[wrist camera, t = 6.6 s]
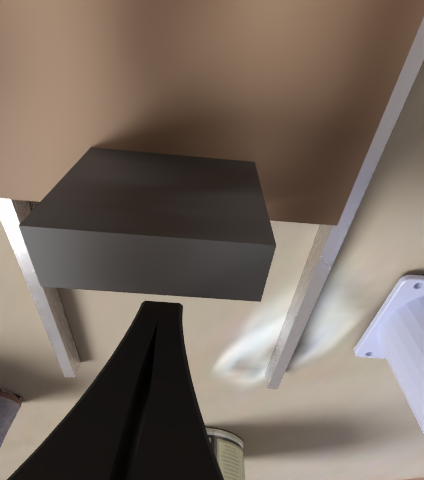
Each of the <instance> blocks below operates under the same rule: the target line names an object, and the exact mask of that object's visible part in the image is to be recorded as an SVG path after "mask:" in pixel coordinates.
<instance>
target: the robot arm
mask: <svg viewBox="0 0 424 480" xmlns="http://www.w3.org/2000/svg"><path fill="white" fill-rule="evenodd" d="M182 312H183V306H182V305H181V304H180V303H168V302H154V301H144V302H143V303H142V304H141V306H140V309H139V311H138V313H137V315H136V317H135V318H134V320H133V322H132V324H131V326H130V327H129V329H128V331H127V332H126V334H125V336H124V337H123V339H122V340H121V342H120V344H119V345H118V347H117V348H116V350H115V351H114V353H113V354H112V356H111V357H110V359H109V360H108V362H107V363H106V365H105V366H104V367H103V369H102V370H101V372H100V373H99V374H98V376H97V377H96V379H95V380H94V381H93V383H92V384H91V385H90V387H89V388H88V389H87V391H86V392H85V393H84V394H83V396H82V397H81V398H80V399H79V401H78V402H77V403H76V404H75V406H74V407H73V408H72V409H71V410H70V412H69V413H68V414H67V415H66V416H65V418H64V419H63V420H62V421H61V422H60V423H59V425H58V426H57V427H56V428H55V429H54V430H53V431H52V433H51V434H50V435H49V436H48V437H47V438H46V439H45V440H44V442H43V443H42V444H41V445H40V446H39V447H38V448H37V449H36V450H35V451H34V452H33V453H32V454H31V456H30V457H29V458H28V459H27V460H26V461H25V462H24V463H23V464H22V465H21V466H20V467H19V468H18V469H17V470H16V471H15V472H14V473H13V474H12V475H11V476H10V477H9V478H8V479H7V480H224V478H223V475H222V472H221V470H220V467H219V464H218V462H217V459H216V456H215V454H214V451H213V448H212V446H211V443H210V440H209V437H208V434H207V431H206V428H205V425H204V422H203V418H202V415H201V412H200V409H199V405H198V402H197V398H196V394H195V391H194V387H193V383H192V379H191V375H190V370H189V366H188V360H187V355H186V350H185V344H184V336H183V326H182ZM354 353H355V355H356V356H358V357H367V358H383V359H387V361H388V363H389V365H390V367H391V369H392V371H393V373H394V375H395V377H396V379H397V381H398V383H399V385H400V387H401V389H402V391H403V393H404V395H405V397H406V399H407V401H408V403H409V405H410V407H411V409H412V411H413V414H414V416H415V418H416V420H417V422H418V424H419V426H420V428H421V430H422V432H423V434H424V276H421V275H406V276H403V277H401V278H400V279H399V281H398V282H397V284H396V285H395V287H394V288H393V290H392V291H391V293H390V294H389V296H388V297H387V299H386V301H385V302H384V304H383V305H382V307H381V308H380V310H379V311H378V313H377V314H376V316H375V317H374V319H373V320H372V322H371V324H370V325H369V327H368V328H367V330H366V331H365V333H364V334H363V336H362V337H361V339H360V340H359V342H358V344H357V345H356V347H355V348H354Z"/></svg>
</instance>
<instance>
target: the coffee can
mask: <svg viewBox="0 0 424 480" xmlns="http://www.w3.org/2000/svg"><path fill="white" fill-rule="evenodd" d="M205 428H206V431H207V434H208V437H209V440H210V443H211V446H212V448H213V451H214V454H215V456H216V459H217V462H218V464H219V467H220V470H221V472H222V475H223V478H224V480H245V471H244V453H243V448H244V445H243V442H242V440H241V439H240V438H239V437H237V436H236V435H234V434H232V433H229V432H226V431H223V430H220V429H214V428H207V427H205Z"/></svg>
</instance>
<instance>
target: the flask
mask: <svg viewBox="0 0 424 480" xmlns="http://www.w3.org/2000/svg"><path fill="white" fill-rule="evenodd" d="M21 403H22V398H21V397H20V398H18V397H17V396H15V395H14V394H13V393H10V392H8V391H5V390H2V391H0V447H1V445H2V443H3V440H4V438H5V436H6V434H7V432H8V430H9V428H10V426H11V424H12V422H13V420H14V418H15V416H16V414H17V412H18V411H19V409H20V407H21Z"/></svg>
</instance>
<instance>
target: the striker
mask: <svg viewBox="0 0 424 480" xmlns="http://www.w3.org/2000/svg"><path fill="white" fill-rule="evenodd" d="M423 17H424V0H0V199H12V200H24V201H37V202H40V203H39V204H38V205H37V206H36V207H35V208H34V209H33V210H32V211H31V212H30V213H29V215H28V216H27V217H26V218H25V219H24V220H23V221H22V222H21V223H20V224H19V225H18V227H19V229H20V232H21V235H22V237H23V240H24V243H25V246H26V248H27V251H28V254H29V256H30V259H31V262H32V265H33V267H34V270H35V273H36V275H37V278H38V281H39V284H40V286H41V287H54V288H69V289H84V290H98V291H113V292H128V293H142V294H157V295H172V296H186V297H201V298H216V299H230V300H245V301H259V302H261V298H262V295H263V291H264V287H265V284H266V280H267V277H268V273H269V269H270V266H271V262H272V259H273V255H274V251H275V248H276V243H275V239H274V235H273V231H272V227H271V223H270V220H273V221H285V222H298V223H310V224H322V225H335V226H337V225H338V223H339V220H340V218H341V215H342V213H343V211H344V208H345V206H346V203H347V201H348V199H349V196H350V194H351V191H352V189H353V186H354V184H355V182H356V179H357V177H358V174H359V172H360V170H361V167H362V165H363V162H364V160H365V157H366V155H367V153H368V150H369V148H370V145H371V143H372V141H373V138H374V136H375V133H376V131H377V129H378V126H379V124H380V121H381V119H382V116H383V114H384V112H385V109H386V107H387V104H388V102H389V100H390V97H391V95H392V92H393V90H394V87H395V85H396V83H397V80H398V78H399V75H400V73H401V71H402V68H403V66H404V63H405V61H406V58H407V56H408V54H409V51H410V49H411V46H412V44H413V42H414V39H415V37H416V34H417V32H418V29H419V27H420V25H421V22H422V20H423Z"/></svg>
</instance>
